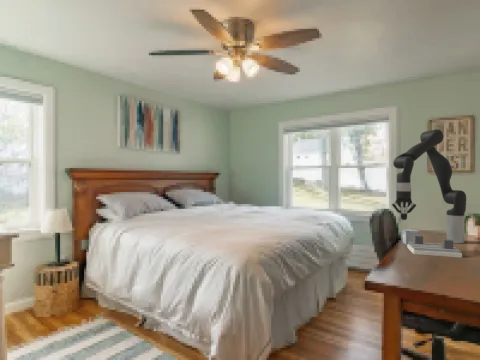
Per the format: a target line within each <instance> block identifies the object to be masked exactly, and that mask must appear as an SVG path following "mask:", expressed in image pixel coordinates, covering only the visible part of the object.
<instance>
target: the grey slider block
mask: <svg viewBox="0 0 480 360" xmlns="http://www.w3.org/2000/svg"><path fill="white" fill-rule="evenodd" d="M442 244H443V249H453V246H454V243H453V240H447V238H446V239H445V238H444V239H443V238H442Z"/></svg>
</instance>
